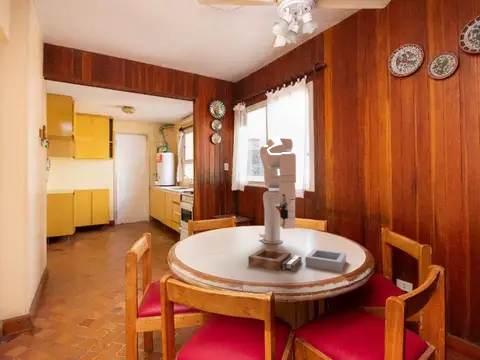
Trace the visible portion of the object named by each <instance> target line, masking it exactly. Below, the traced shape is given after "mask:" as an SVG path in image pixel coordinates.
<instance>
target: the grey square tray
mask: <svg viewBox="0 0 480 360" xmlns="http://www.w3.org/2000/svg"><path fill="white" fill-rule="evenodd" d="M346 262H347V253H346V252H341V251H335V250H333V251H332V250H326V249H320V248H314V249H313V250H311V251H310V252H309V253H308V254H307V255H306V256H305V266H306V267H310V268H311V267H312V268H317V269H323V270H328V271H334V272H342V270H343V268H344V266H345V264H346Z"/></svg>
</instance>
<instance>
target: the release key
mask: <svg viewBox="0 0 480 360" xmlns="http://www.w3.org/2000/svg"><path fill="white" fill-rule="evenodd" d="M302 258H303V257H302V255H296V254H295V255H294V257H292V259H291V260H290V261H289V262H288V263H287V269H290V270H291V265H292V264H293V263H294V262H295V261H296V260H298V259H301V263H302V261H303V259H302Z"/></svg>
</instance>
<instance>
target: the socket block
mask: <svg viewBox="0 0 480 360" xmlns="http://www.w3.org/2000/svg"><path fill="white" fill-rule="evenodd" d="M247 258H248V259H247V261H248V266H250V267H256V268H261V269H267V270H271V271H275V272H280V271H281V270H282V271H284V272H285V271H286V270H287V269H288V268H287V263H288V262H289V261H290V260H291V259H292V258H293V257H292V253H291V252H289V251H283V250H282V251H281V250H276V249H268V248H261V249H259V250H258V251H255V252H254V253H252V254H250V255H249V256H247ZM301 265H302V262H301V259H298V260H296V261H295V262H294V263H293V264H292V265H291V269H290V271H291V273H295V271H297V270H298V269H299V268H300V267H301Z"/></svg>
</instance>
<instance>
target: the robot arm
mask: <svg viewBox="0 0 480 360" xmlns="http://www.w3.org/2000/svg"><path fill="white" fill-rule="evenodd" d="M266 143H267V144H266V145H263V146H261V147H260V148H259V149H260V150H259V158H260V160H261V163H262V167H263V176H264V179H263V180H264V181H263V182H264V185H265V186H264V187H265V188H266V189H269V190H267V191H265V192H264V193H263V195H262V200H263V207H264V208H263V209H264V233H261V232H260V233H259V238H262V242H263V243H265V244H270V245H271V244H272V245H273V244H274V245H275V244H281V243H283V241H284V240H283V238H281V218H284V219H287V218H288V210H287V207H288V204H290V202H291V197H295V199H296V182H297V155H296V154H295V153H294V152H292V149H293V144H294V143H293V141H292V138H290V137H289V136H288V137H287V136H273V137H270V138H269V139H268V140H267V142H266ZM278 170H279V172H278ZM271 189H272V190H271ZM274 189H275V190H274ZM277 189H278V190H277ZM284 199H285V200H286V202H287V203H283V202H284ZM285 205H286V206H285ZM277 207H280V211H279V210H278V208H277Z"/></svg>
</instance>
